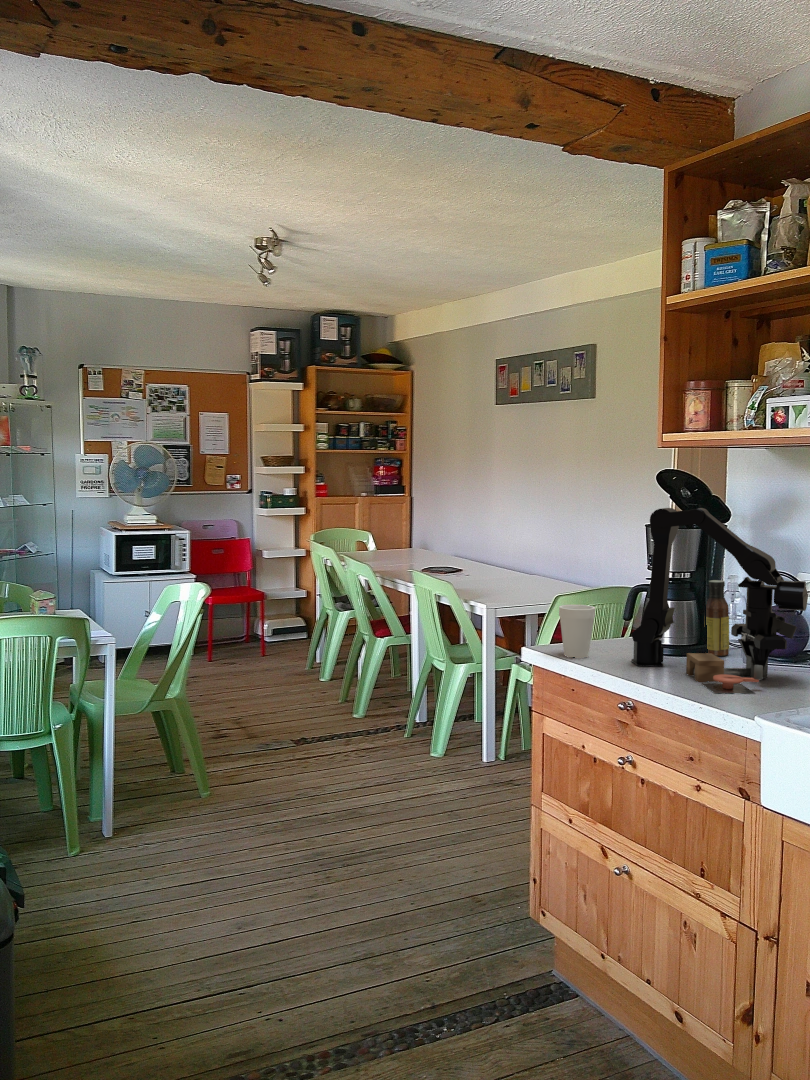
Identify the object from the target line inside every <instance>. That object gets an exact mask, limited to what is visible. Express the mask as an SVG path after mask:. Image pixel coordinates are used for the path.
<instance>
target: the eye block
mask: <svg viewBox="0 0 810 1080" xmlns="http://www.w3.org/2000/svg"><path fill="white" fill-rule="evenodd" d="M685 663H686V664H685V666H686V668H685V670H686V671H685V672H686V673H685V674H686V675H687V674H688V676H689V677H694V676H693V669H694V668H695V677H694V680H695V681H696V682H697V681H698V683H718V682H717V681H715V680H713V676H714V675H720V674H724V668H725V660H724V659H721V658H720V656H715V655H713V654H712V653H706V652H705V653H704V652H703V653H702V652H700V653H699V652H696V653H695V652H694V653H692V652H688V653H687V652H686V661H685ZM707 681H709V682H707Z"/></svg>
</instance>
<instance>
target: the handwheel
mask: <svg viewBox="0 0 810 1080" xmlns="http://www.w3.org/2000/svg"><path fill="white" fill-rule="evenodd" d="M763 679H764V678H763V666H762V665H754V678H750V677H739V676H735V675H727V674H720V675H714V676H713V680H715V681H717V682H716V683H722V688H725V689H733V686H734V684H736V683H740V684H742V683H744V682H747V683H748V682H749V683H760V680H763Z"/></svg>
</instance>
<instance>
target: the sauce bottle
mask: <svg viewBox="0 0 810 1080" xmlns="http://www.w3.org/2000/svg"><path fill="white" fill-rule="evenodd" d="M725 586H726V583H725V580H719V579H713V580H708V589H709V590H708V592H709V594H708V598H707V601H706V603H707V604H706V603H705V604H706V625H707V649H708V653H712V654H713V655H715V656H717V657H725V656H728V655H729V652H730V651H729V650H730V613H729V610H730V609H729V604H728V602H727V600H726V598H725Z"/></svg>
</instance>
